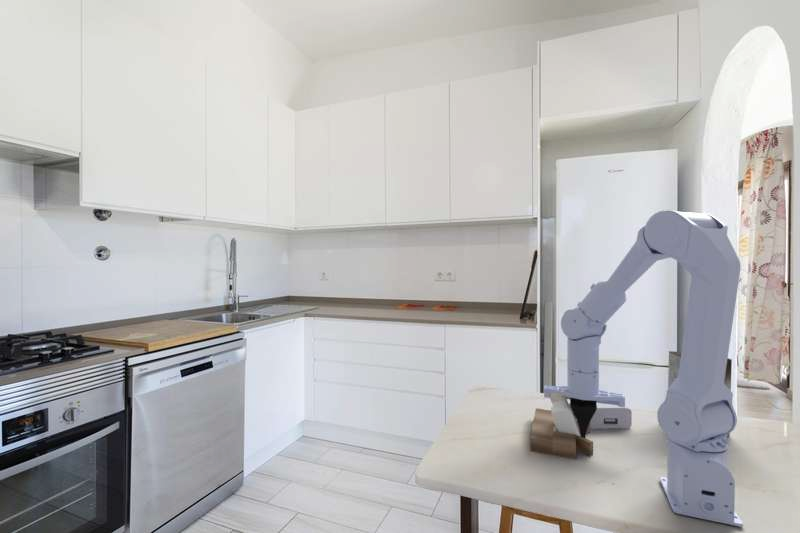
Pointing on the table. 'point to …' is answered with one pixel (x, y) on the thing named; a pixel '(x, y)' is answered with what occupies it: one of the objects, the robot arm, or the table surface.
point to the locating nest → (556, 438)
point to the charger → (611, 417)
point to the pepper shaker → (563, 414)
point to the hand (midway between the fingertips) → (582, 436)
